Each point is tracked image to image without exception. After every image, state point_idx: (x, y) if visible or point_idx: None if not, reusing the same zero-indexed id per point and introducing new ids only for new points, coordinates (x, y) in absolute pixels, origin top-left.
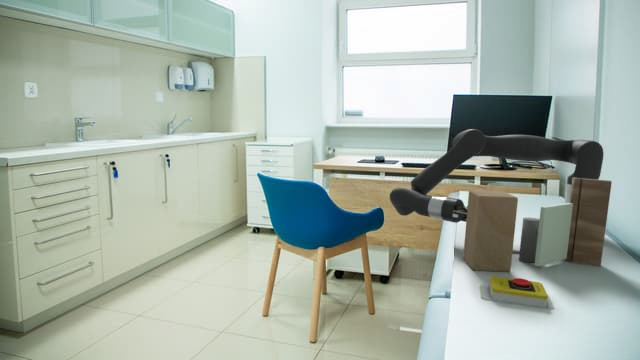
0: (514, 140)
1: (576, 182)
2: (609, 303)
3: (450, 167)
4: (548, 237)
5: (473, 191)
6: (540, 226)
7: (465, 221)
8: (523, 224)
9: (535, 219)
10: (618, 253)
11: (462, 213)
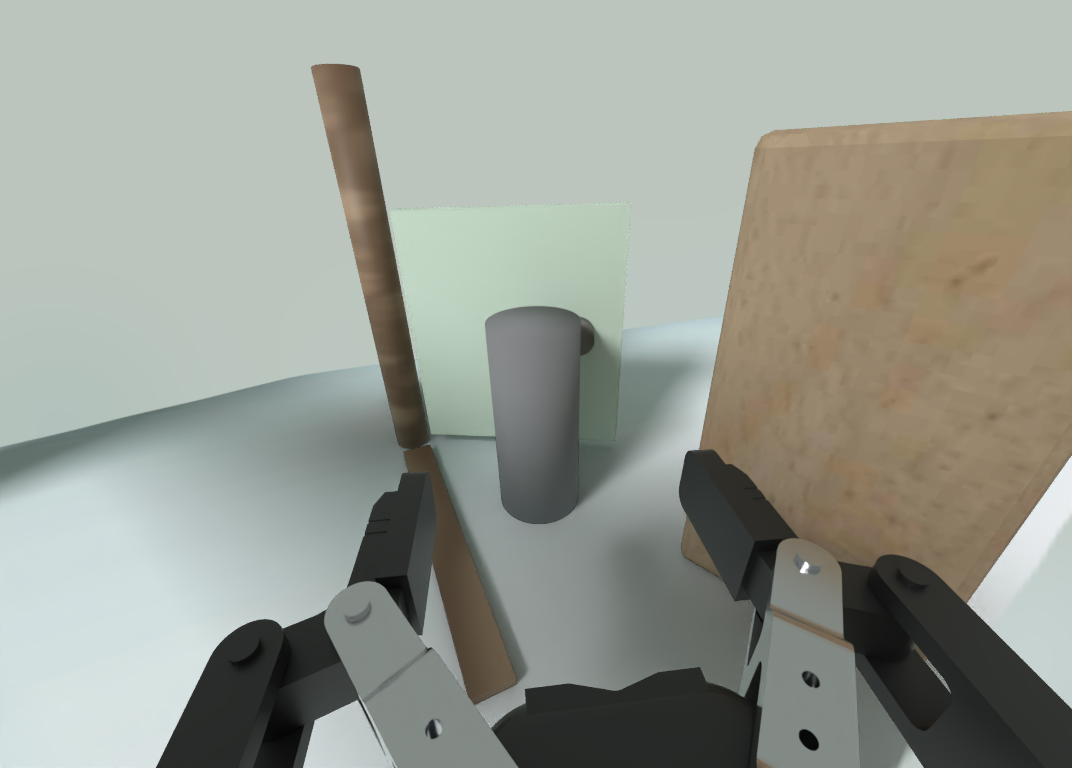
0: None
1: (363, 93)
2: (664, 339)
3: None
4: None
5: None
6: (623, 295)
7: (920, 677)
8: (572, 358)
9: (517, 318)
10: (197, 407)
11: (1034, 680)
